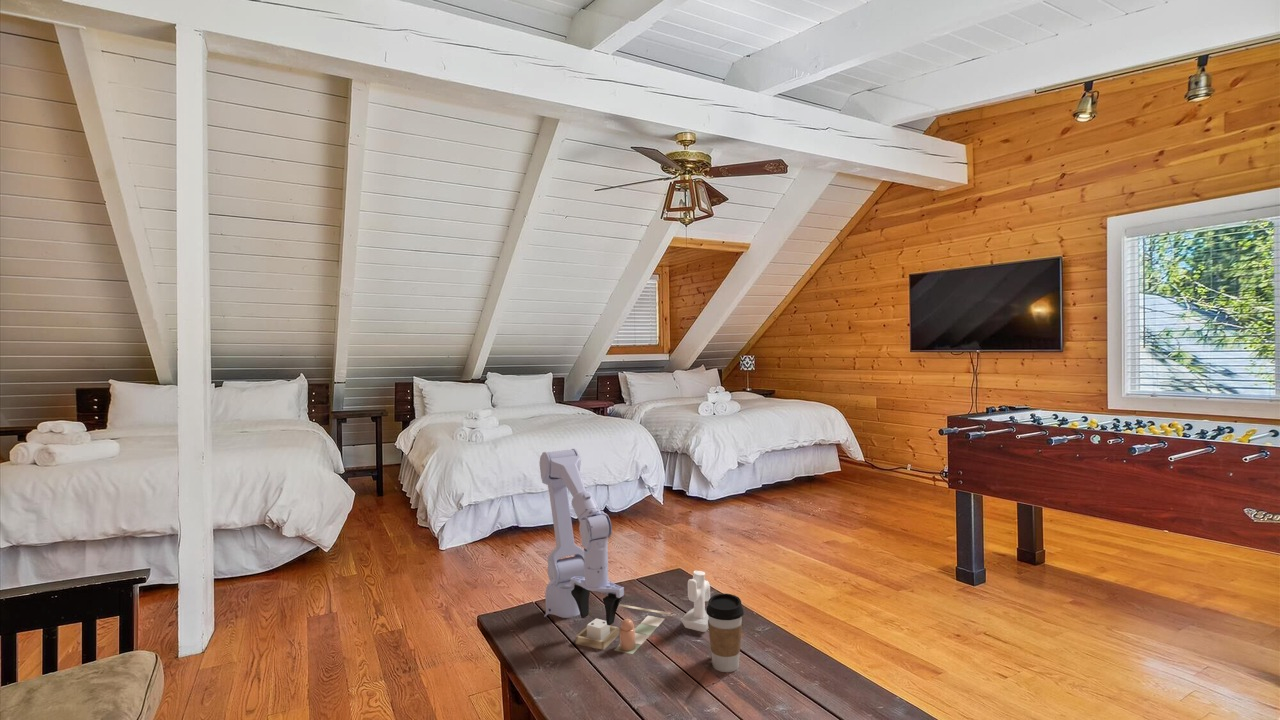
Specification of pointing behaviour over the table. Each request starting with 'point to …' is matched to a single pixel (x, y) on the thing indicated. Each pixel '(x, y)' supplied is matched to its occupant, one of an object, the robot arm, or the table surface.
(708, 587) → the figurine
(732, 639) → the coffee cup
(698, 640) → the table surface
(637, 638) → the game board
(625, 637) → the pawn
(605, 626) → the die
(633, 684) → the table surface
